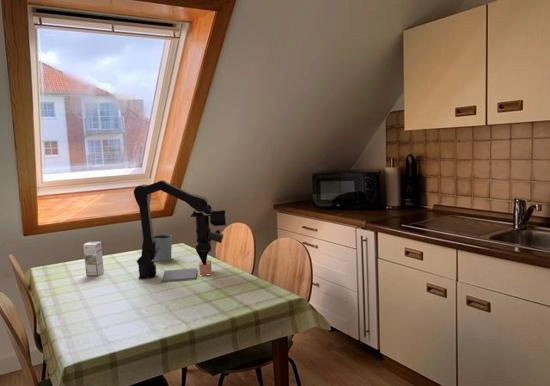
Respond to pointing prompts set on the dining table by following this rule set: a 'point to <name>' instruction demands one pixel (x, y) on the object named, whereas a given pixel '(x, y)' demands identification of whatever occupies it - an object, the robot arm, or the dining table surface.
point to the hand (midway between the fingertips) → (204, 261)
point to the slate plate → (179, 274)
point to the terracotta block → (205, 268)
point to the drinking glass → (163, 247)
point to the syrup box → (93, 258)
